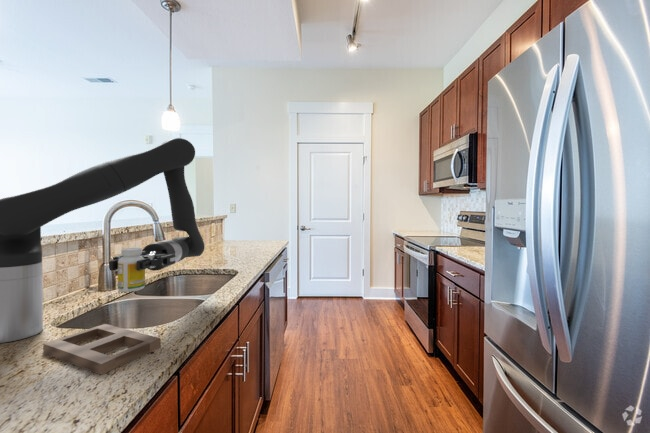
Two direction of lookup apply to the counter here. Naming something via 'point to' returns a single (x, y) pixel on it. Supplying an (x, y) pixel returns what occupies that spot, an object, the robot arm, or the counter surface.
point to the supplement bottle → (130, 271)
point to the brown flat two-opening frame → (101, 347)
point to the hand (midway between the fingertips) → (124, 266)
